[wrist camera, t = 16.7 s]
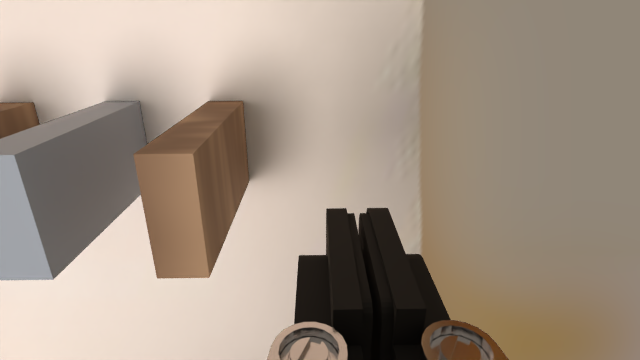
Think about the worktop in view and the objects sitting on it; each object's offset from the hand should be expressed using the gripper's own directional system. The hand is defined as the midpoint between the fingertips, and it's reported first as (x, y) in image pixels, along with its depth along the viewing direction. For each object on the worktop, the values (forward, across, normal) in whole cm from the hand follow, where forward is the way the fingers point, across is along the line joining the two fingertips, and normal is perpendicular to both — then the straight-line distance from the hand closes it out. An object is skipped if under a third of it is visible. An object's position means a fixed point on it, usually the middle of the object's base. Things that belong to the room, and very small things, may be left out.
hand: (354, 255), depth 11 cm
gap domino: (+13, +12, +1) cm, 18 cm away
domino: (+13, +6, +1) cm, 15 cm away
